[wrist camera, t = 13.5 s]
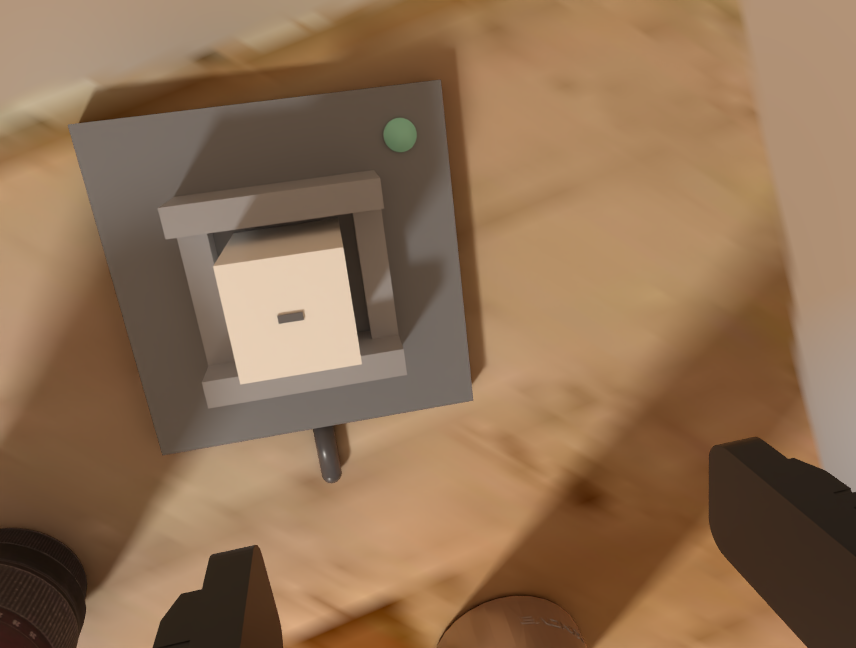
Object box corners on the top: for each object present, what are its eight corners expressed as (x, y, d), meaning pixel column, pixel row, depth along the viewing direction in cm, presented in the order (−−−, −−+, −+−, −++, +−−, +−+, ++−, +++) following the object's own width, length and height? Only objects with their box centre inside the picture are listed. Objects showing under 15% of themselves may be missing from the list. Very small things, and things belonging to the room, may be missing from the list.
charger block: (338, 218, 29) (343, 247, 23) (353, 315, 30) (362, 365, 25) (233, 233, 28) (212, 266, 23) (254, 330, 30) (240, 385, 24)
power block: (474, 450, 35) (494, 494, 31) (185, 503, 33) (167, 557, 29) (436, 80, 29) (454, 77, 25) (77, 123, 27) (37, 127, 23)
